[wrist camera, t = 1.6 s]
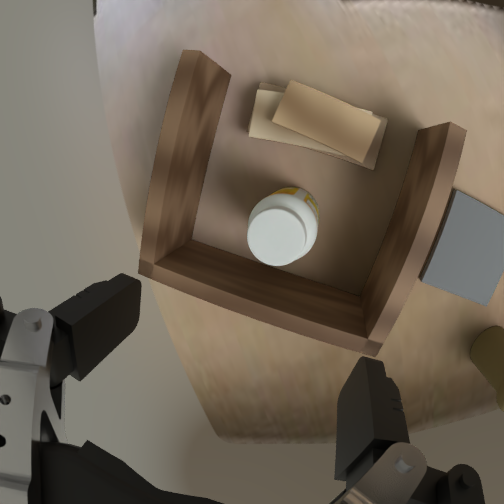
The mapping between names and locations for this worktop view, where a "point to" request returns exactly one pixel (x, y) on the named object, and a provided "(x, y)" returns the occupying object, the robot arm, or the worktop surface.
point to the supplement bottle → (283, 226)
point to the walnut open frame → (265, 277)
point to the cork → (491, 359)
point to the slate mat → (467, 250)
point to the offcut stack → (316, 123)
